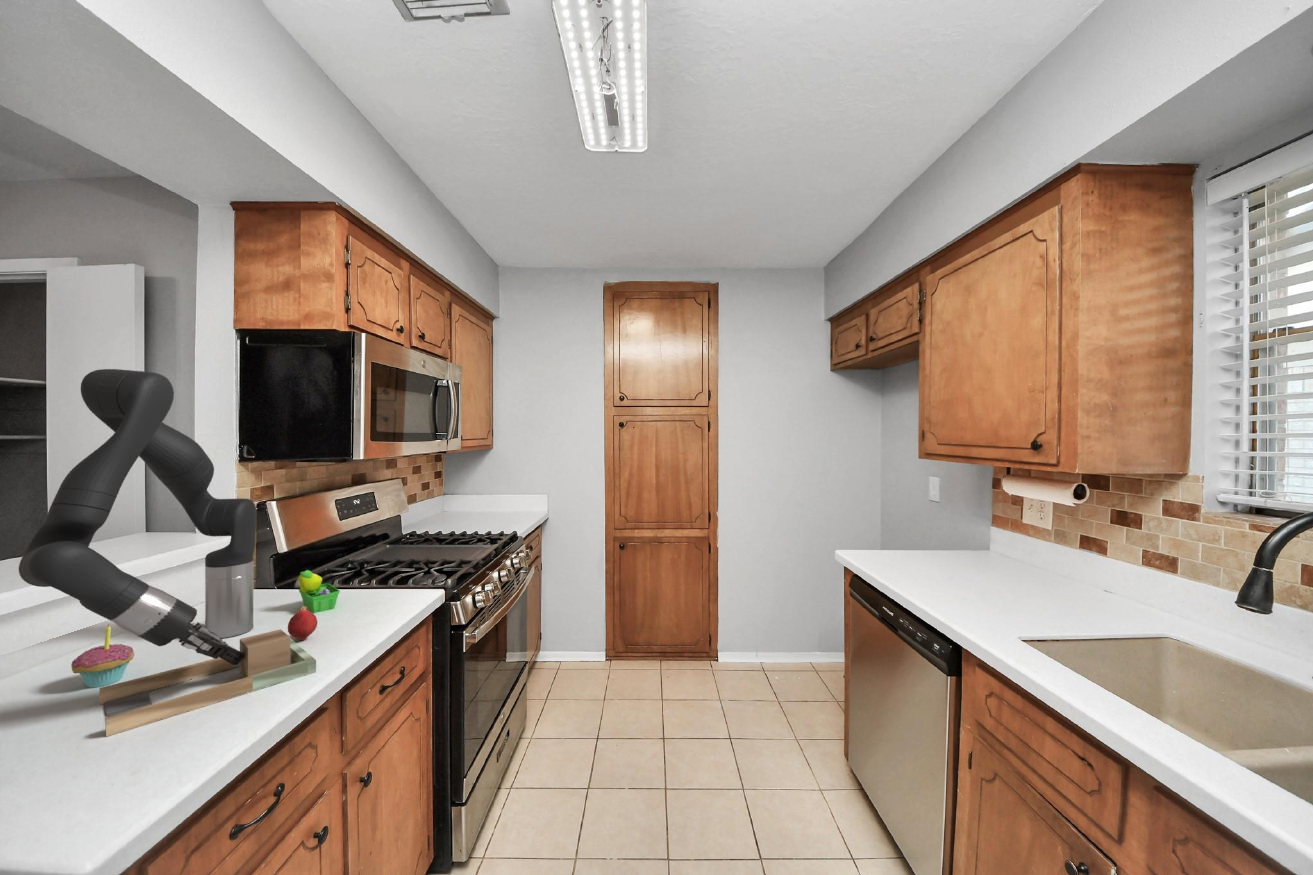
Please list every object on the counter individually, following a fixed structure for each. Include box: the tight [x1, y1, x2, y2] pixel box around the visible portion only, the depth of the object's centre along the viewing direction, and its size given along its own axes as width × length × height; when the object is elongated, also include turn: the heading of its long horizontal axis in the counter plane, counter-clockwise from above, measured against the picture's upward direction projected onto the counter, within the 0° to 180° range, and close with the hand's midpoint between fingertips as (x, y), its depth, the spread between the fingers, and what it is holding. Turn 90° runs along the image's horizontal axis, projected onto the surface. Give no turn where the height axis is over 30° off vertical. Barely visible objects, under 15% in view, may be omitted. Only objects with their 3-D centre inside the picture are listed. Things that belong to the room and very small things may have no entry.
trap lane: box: [99, 638, 317, 737], centre depth 99 cm, size 17×30×2 cm, turn 140°
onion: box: [287, 605, 318, 641], centre depth 121 cm, size 6×6×8 cm
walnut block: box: [239, 629, 291, 678], centre depth 105 cm, size 7×7×7 cm
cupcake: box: [71, 623, 135, 688], centre depth 101 cm, size 9×8×12 cm
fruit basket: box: [297, 569, 341, 614], centre depth 144 cm, size 11×9×11 cm
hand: (239, 659), depth 102 cm, fingers closed
